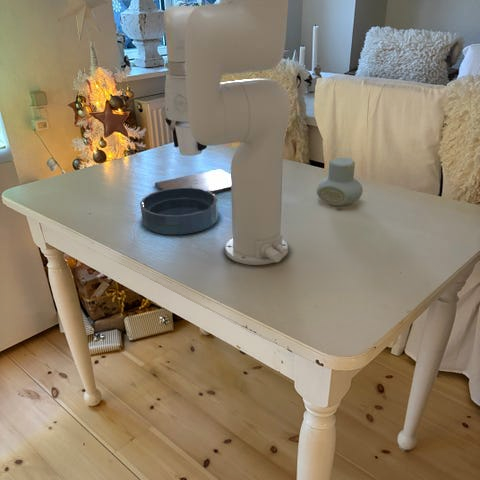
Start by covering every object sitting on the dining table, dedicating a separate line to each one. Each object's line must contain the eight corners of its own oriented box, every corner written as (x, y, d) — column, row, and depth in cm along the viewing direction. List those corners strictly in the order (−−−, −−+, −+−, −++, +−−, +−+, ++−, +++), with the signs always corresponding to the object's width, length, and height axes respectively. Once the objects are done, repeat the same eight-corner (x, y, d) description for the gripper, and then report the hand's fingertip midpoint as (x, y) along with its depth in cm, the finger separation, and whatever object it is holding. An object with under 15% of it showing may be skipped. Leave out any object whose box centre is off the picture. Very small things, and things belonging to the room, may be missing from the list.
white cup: (173, 155, 123) (170, 126, 119) (183, 147, 128) (181, 119, 124) (198, 157, 121) (196, 127, 117) (208, 149, 127) (206, 121, 123)
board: (245, 186, 130) (245, 183, 130) (177, 202, 122) (177, 198, 121) (219, 172, 140) (219, 169, 140) (155, 186, 132) (154, 182, 131)
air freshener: (365, 200, 120) (371, 160, 115) (352, 212, 115) (357, 169, 109) (325, 192, 125) (328, 153, 120) (310, 203, 120) (313, 162, 114)
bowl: (231, 223, 111) (230, 204, 108) (161, 242, 103) (159, 222, 101) (196, 200, 123) (195, 182, 120) (131, 215, 116) (129, 197, 113)
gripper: (144, 69, 115) (154, 147, 125) (207, 73, 108) (212, 156, 118) (163, 64, 120) (171, 140, 130) (225, 68, 113) (227, 148, 123)
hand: (190, 147), depth 124 cm, fingers closed on white cup, 6 cm apart
